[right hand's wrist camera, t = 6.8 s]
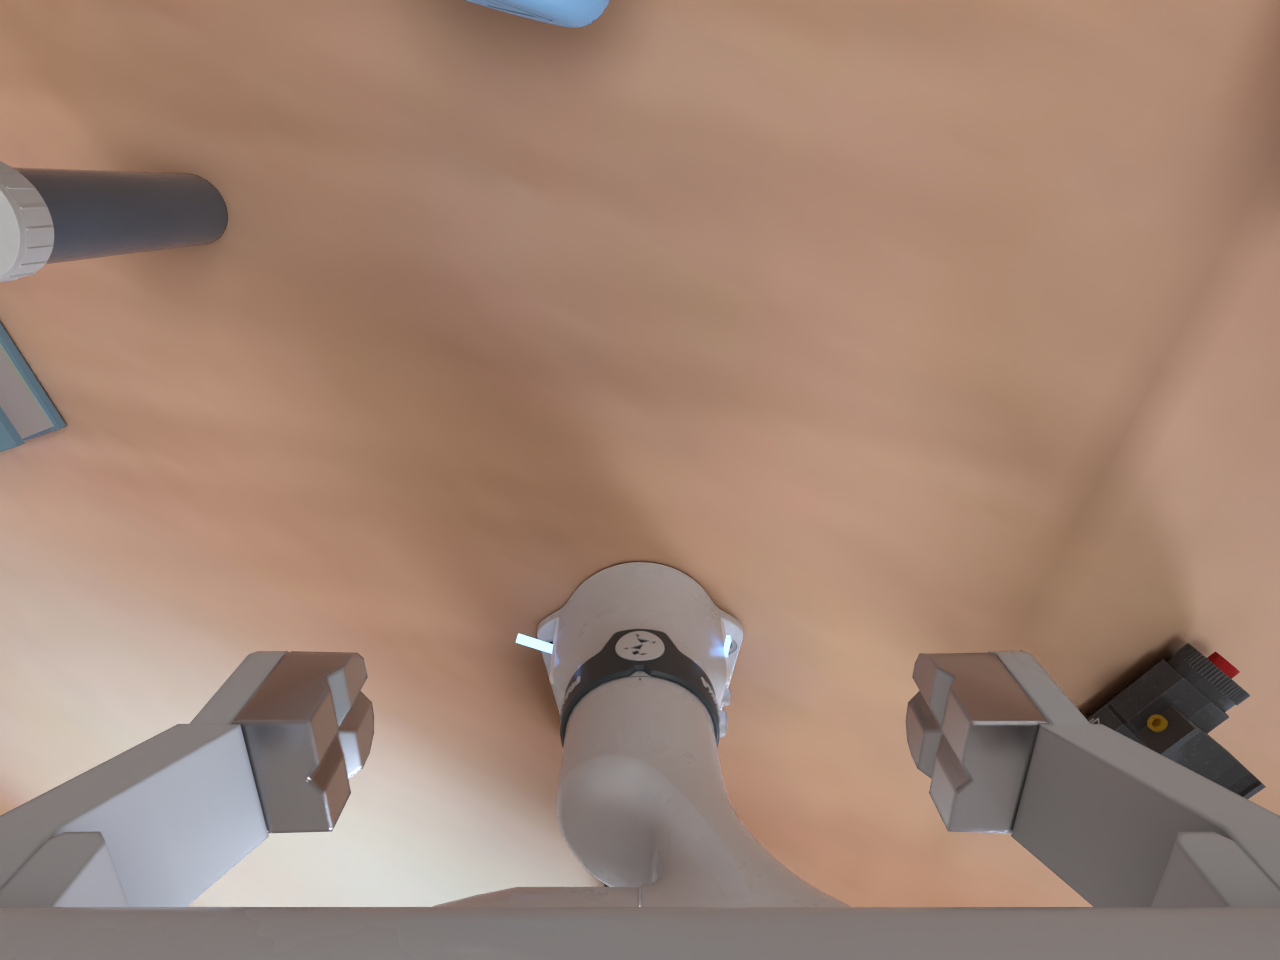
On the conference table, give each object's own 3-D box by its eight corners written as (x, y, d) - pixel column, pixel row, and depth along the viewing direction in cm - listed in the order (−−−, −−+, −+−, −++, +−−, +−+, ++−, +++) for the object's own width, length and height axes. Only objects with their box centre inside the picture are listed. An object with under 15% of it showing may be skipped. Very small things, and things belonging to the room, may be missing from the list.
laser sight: (982, 764, 72) (1032, 849, 63) (1169, 613, 66) (1256, 682, 57) (1045, 810, 75) (1103, 899, 65) (1233, 668, 68) (1327, 744, 59)
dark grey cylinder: (179, 158, 52) (-67, 141, 34) (240, 206, 53) (33, 215, 35) (147, 212, 53) (-106, 224, 35) (206, 258, 55) (-9, 292, 36)
